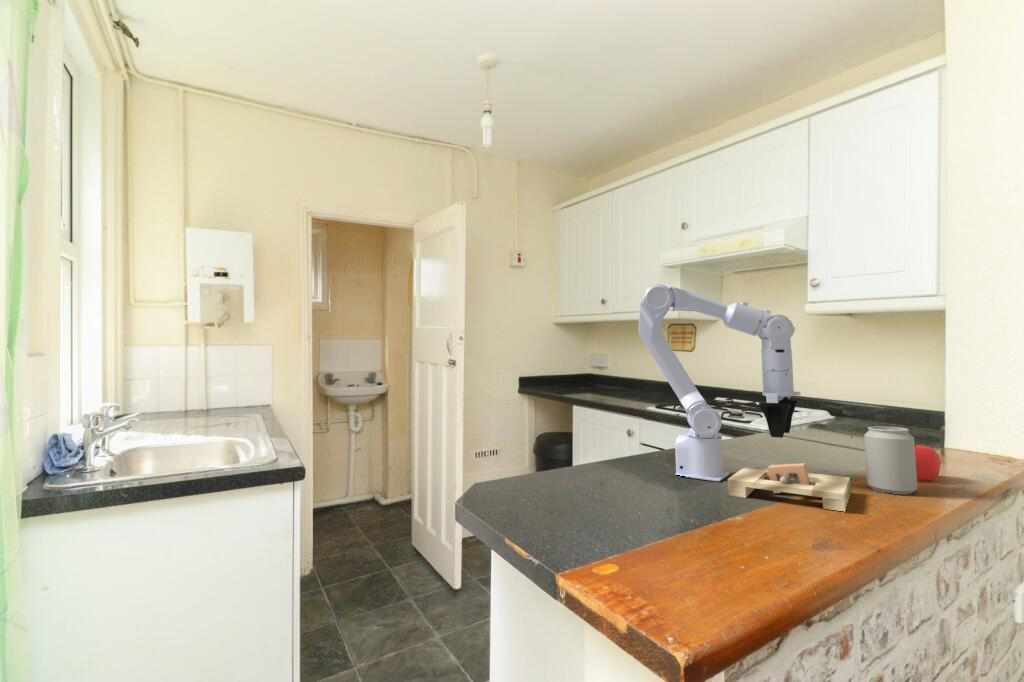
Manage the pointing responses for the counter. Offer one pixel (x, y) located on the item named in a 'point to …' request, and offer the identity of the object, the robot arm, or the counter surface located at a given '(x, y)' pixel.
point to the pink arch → (789, 468)
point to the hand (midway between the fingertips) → (780, 434)
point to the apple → (926, 463)
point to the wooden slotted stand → (792, 486)
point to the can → (890, 460)
